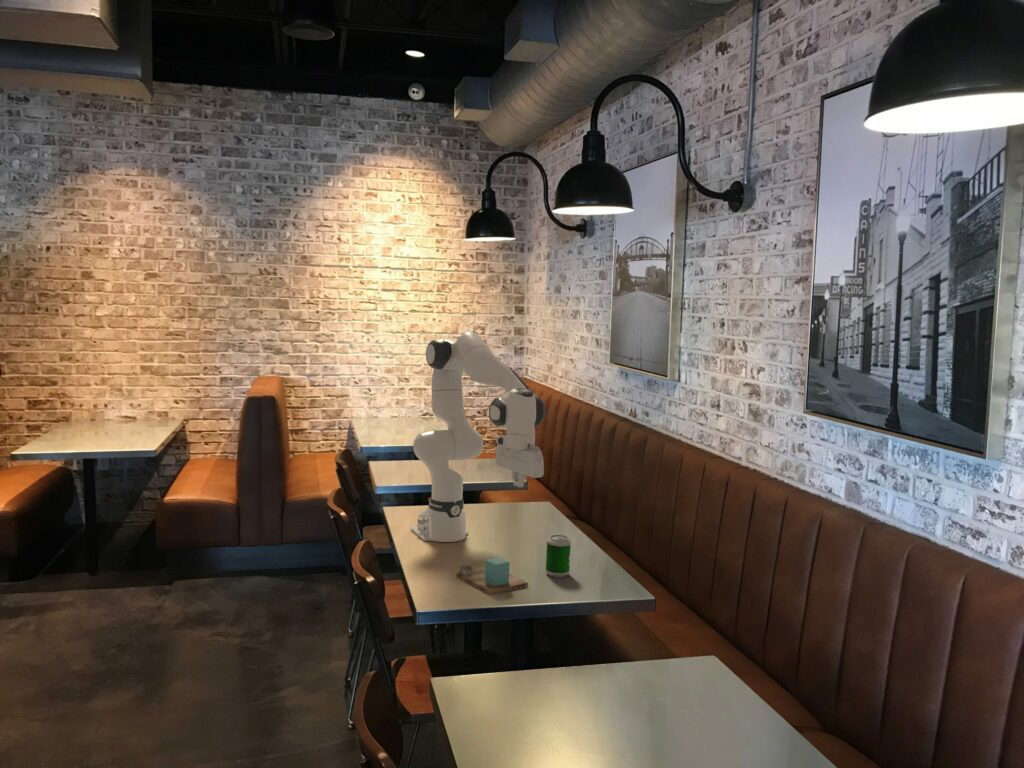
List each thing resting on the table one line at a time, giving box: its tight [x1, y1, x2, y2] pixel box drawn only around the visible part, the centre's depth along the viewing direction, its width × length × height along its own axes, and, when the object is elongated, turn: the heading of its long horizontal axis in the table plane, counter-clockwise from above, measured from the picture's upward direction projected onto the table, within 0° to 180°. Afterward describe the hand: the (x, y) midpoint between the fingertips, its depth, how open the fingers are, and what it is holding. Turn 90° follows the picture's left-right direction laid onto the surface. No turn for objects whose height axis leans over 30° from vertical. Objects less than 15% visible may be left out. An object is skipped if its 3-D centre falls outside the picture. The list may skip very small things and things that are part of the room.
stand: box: [456, 562, 529, 595], centre depth 247 cm, size 18×14×7 cm
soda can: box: [545, 534, 572, 578], centre depth 256 cm, size 8×8×12 cm
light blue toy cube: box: [484, 556, 511, 586], centre depth 243 cm, size 5×5×7 cm
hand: (518, 486), depth 248 cm, fingers closed
